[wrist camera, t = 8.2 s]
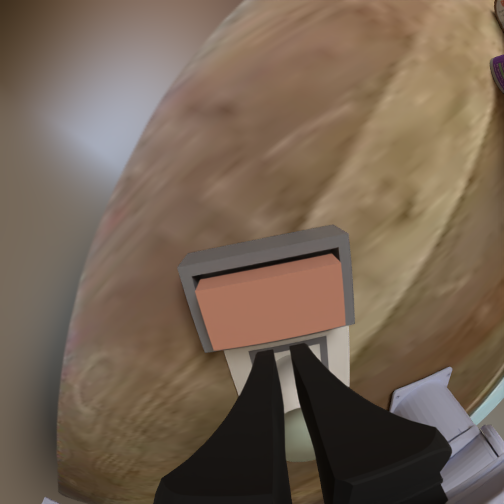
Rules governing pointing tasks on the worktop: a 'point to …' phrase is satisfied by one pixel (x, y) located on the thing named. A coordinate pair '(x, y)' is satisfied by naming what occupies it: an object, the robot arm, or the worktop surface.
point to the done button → (272, 302)
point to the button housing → (266, 265)
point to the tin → (499, 12)
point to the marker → (293, 416)
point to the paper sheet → (321, 344)
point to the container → (498, 71)
